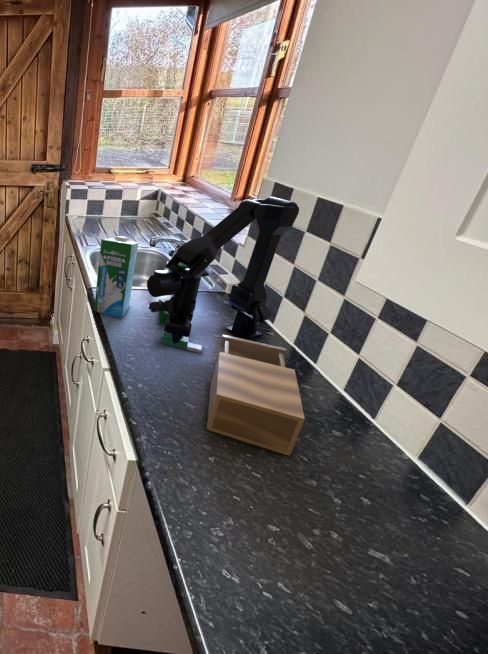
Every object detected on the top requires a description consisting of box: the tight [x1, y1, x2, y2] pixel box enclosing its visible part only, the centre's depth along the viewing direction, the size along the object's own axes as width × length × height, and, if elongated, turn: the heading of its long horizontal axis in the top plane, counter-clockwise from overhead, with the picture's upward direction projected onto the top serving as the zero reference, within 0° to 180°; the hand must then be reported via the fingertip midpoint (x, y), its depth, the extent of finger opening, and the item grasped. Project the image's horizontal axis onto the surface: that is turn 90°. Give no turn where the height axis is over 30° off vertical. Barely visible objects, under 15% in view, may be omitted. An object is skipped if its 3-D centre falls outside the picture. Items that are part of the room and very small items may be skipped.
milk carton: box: [93, 235, 139, 319], centre depth 128 cm, size 9×9×25 cm
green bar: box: [161, 331, 203, 354], centre depth 113 cm, size 10×3×2 cm, turn 61°
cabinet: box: [206, 352, 306, 457], centre depth 87 cm, size 17×15×10 cm
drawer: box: [215, 334, 287, 368], centre depth 96 cm, size 17×13×8 cm
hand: (175, 340), depth 114 cm, fingers closed on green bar, 2 cm apart
